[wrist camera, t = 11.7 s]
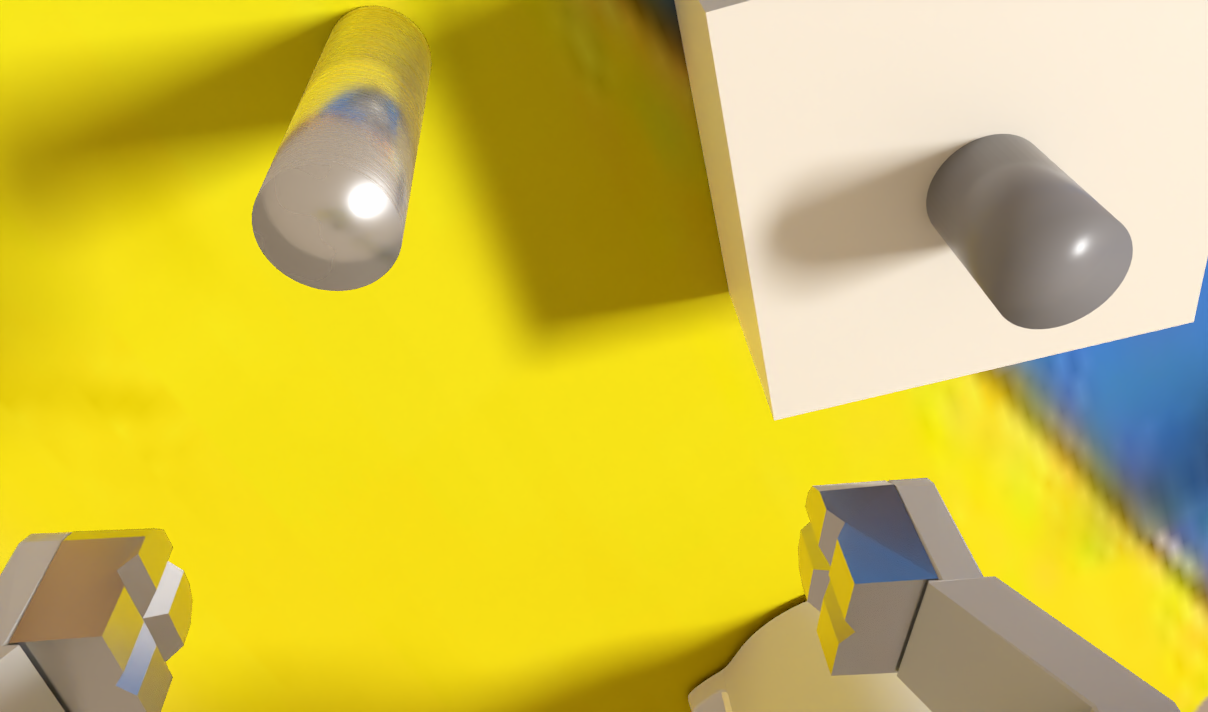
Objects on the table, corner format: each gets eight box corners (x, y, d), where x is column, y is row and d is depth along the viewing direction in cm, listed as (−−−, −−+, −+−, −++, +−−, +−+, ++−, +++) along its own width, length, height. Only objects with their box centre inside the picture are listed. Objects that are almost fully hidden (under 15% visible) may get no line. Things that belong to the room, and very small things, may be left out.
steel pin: (445, 93, 27) (422, 273, 19) (350, 116, 27) (290, 304, 19) (411, -6, 25) (370, 148, 17) (310, 20, 25) (225, 183, 17)
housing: (1072, 207, 31) (1289, 412, 23) (729, 292, 32) (809, 519, 24) (1112, -191, 24) (1459, -113, 15) (662, -63, 25) (743, 78, 16)
